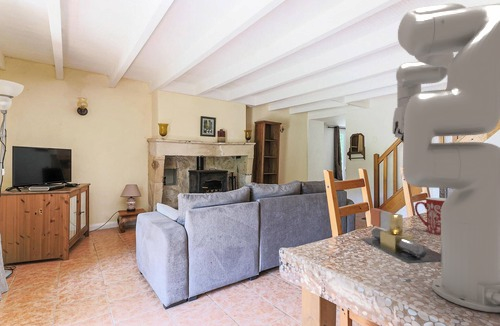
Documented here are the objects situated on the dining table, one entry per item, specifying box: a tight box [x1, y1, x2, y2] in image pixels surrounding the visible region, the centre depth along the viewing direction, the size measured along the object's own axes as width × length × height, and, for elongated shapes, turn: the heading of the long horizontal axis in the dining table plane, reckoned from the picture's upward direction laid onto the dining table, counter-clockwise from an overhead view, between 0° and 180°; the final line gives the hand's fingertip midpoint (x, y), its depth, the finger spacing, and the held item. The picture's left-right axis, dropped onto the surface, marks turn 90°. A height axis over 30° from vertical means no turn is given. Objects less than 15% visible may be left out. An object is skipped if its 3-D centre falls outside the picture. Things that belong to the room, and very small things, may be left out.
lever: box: [370, 207, 404, 234], centre depth 88 cm, size 14×4×6 cm, turn 8°
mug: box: [414, 197, 447, 236], centre depth 105 cm, size 13×9×14 cm
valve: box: [361, 227, 441, 264], centre depth 84 cm, size 22×14×5 cm, turn 9°
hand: (409, 153), depth 96 cm, fingers closed
